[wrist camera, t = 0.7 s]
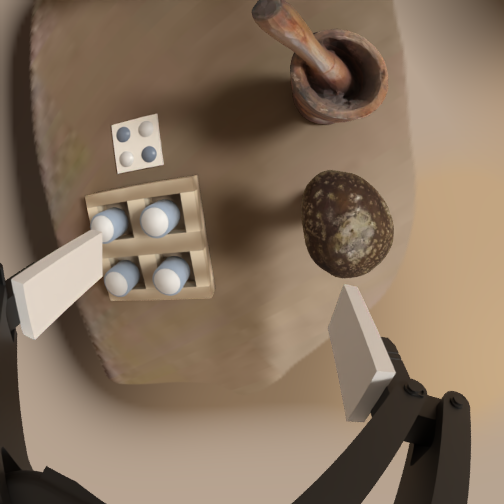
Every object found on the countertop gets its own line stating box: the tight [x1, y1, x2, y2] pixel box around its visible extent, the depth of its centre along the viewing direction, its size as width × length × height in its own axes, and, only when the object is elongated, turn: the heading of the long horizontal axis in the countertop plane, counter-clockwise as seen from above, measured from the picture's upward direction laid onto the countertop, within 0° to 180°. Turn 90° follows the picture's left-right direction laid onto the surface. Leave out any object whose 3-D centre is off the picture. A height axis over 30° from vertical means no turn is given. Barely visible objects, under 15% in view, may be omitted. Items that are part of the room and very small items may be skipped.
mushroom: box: [301, 170, 394, 278], centre depth 31 cm, size 9×9×15 cm
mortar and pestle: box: [252, 0, 388, 124], centre depth 24 cm, size 12×9×20 cm
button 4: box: [152, 256, 190, 296], centre depth 38 cm, size 4×4×4 cm
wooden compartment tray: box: [85, 175, 216, 301], centre depth 40 cm, size 16×16×3 cm
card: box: [111, 114, 164, 174], centre depth 37 cm, size 7×7×1 cm
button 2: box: [140, 199, 180, 238], centre depth 36 cm, size 4×4×4 cm
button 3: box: [104, 260, 140, 297], centre depth 39 cm, size 4×4×4 cm
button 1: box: [90, 207, 128, 244], centre depth 37 cm, size 4×4×4 cm
